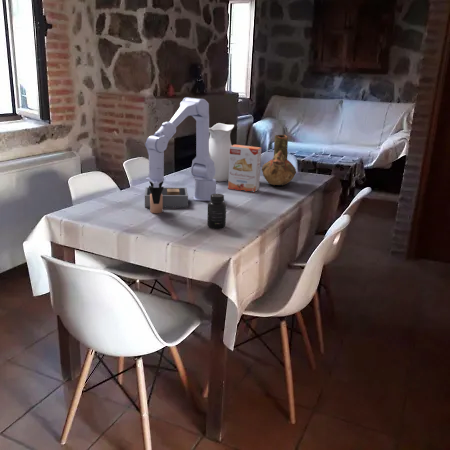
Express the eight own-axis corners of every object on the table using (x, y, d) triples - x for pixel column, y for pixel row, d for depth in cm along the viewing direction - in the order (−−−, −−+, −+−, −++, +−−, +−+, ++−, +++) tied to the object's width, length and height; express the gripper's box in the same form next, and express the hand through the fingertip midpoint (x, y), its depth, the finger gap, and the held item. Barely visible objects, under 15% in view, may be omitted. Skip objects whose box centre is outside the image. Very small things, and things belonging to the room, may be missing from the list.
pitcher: (215, 174, 261) (216, 121, 252) (240, 179, 252) (243, 125, 243) (186, 181, 242) (187, 125, 233) (213, 187, 233) (215, 129, 224)
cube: (178, 199, 207) (178, 188, 205) (179, 203, 202) (179, 191, 201) (167, 199, 206) (167, 188, 205) (167, 203, 202) (167, 191, 200)
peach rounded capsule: (162, 209, 195) (161, 192, 193) (163, 212, 190) (163, 195, 188) (149, 210, 194) (149, 193, 192) (150, 213, 189) (150, 196, 187)
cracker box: (227, 189, 230) (229, 145, 224) (232, 186, 236) (233, 144, 229) (255, 193, 226) (258, 148, 219) (259, 190, 231) (262, 146, 224)
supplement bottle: (206, 223, 180) (207, 192, 177) (224, 223, 181) (226, 192, 177) (207, 229, 174) (208, 197, 170) (226, 229, 175) (227, 197, 171)
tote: (186, 198, 212) (186, 187, 210) (187, 207, 199) (188, 195, 197) (145, 198, 209) (145, 187, 208) (144, 207, 197) (144, 195, 195)
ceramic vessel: (258, 190, 231) (261, 138, 223) (262, 178, 255) (266, 131, 247) (294, 193, 228) (298, 140, 220) (295, 180, 253) (299, 133, 245)
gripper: (146, 163, 192) (146, 196, 197) (145, 170, 179) (145, 206, 183) (164, 163, 193) (164, 196, 198) (164, 171, 180) (164, 206, 184)
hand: (156, 200), depth 190 cm, fingers open, 7 cm apart
